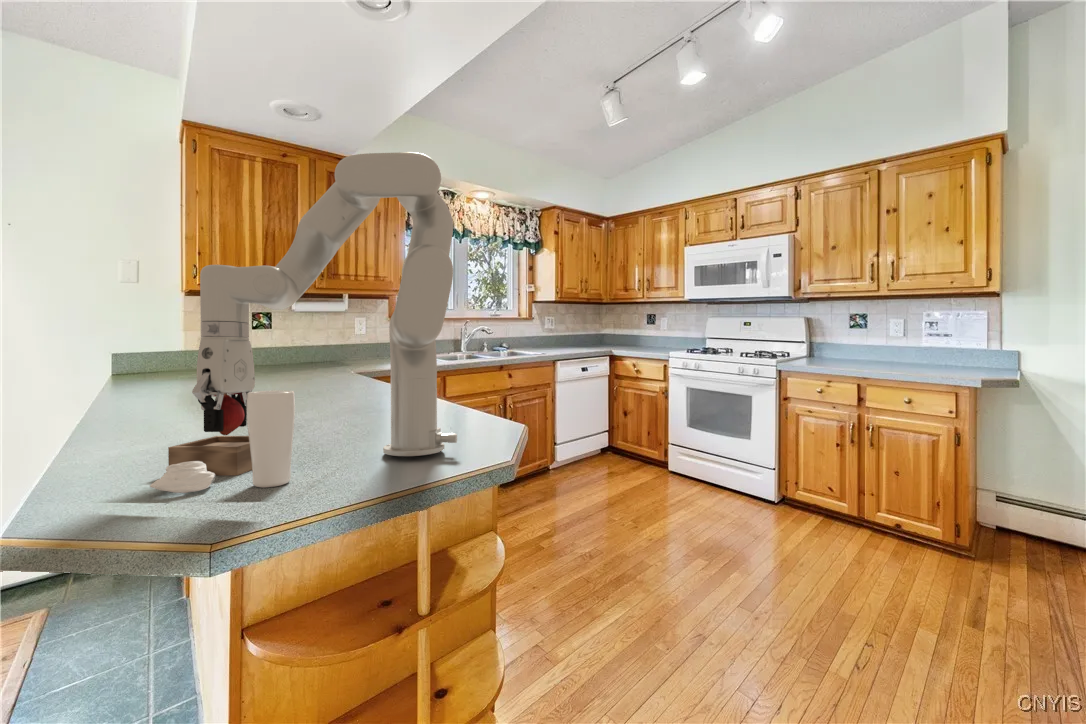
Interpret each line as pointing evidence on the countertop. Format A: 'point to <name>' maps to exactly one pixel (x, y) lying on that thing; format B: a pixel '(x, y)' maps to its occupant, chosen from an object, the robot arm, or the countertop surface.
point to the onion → (231, 414)
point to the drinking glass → (271, 436)
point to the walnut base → (216, 454)
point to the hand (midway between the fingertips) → (226, 428)
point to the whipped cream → (185, 478)
